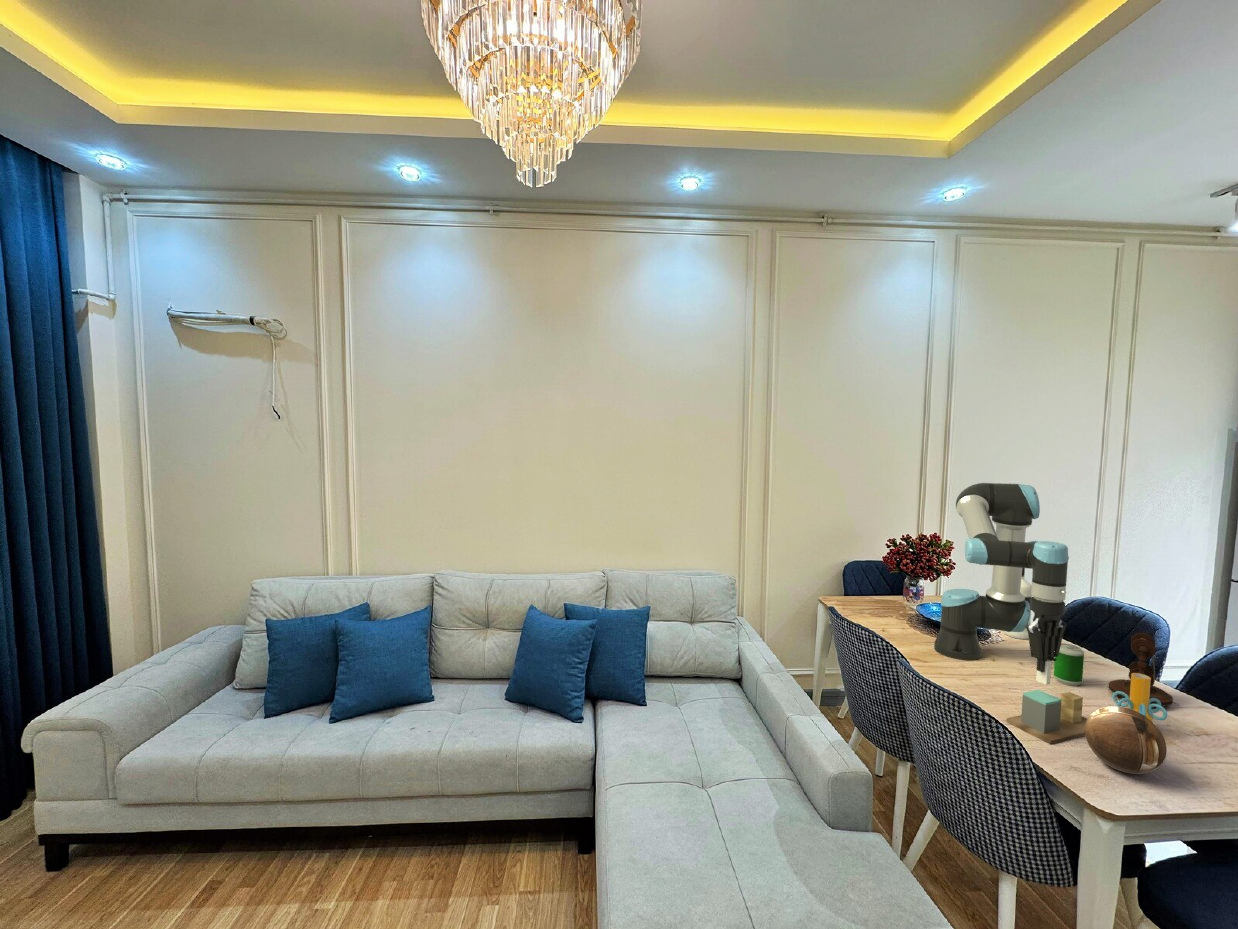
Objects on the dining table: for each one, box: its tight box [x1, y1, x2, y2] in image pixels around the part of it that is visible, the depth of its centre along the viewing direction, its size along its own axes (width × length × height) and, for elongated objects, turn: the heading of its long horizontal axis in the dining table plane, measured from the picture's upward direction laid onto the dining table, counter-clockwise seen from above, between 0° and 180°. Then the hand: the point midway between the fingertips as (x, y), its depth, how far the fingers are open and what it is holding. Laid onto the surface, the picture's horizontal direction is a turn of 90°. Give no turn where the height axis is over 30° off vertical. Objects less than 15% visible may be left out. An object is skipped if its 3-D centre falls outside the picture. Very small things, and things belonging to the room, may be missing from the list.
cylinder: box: [1111, 673, 1168, 723], centre depth 157 cm, size 12×10×15 cm
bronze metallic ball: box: [1085, 705, 1168, 775], centre depth 139 cm, size 15×15×15 cm
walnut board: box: [1006, 691, 1088, 745], centre depth 158 cm, size 12×22×8 cm, turn 109°
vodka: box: [1003, 568, 1033, 640], centre depth 226 cm, size 9×9×30 cm
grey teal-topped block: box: [1021, 689, 1062, 734], centre depth 156 cm, size 6×6×9 cm
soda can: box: [1053, 642, 1085, 687], centre depth 186 cm, size 8×8×12 cm
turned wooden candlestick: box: [1107, 632, 1174, 711], centre depth 174 cm, size 15×15×20 cm
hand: (1043, 682), depth 156 cm, fingers closed
